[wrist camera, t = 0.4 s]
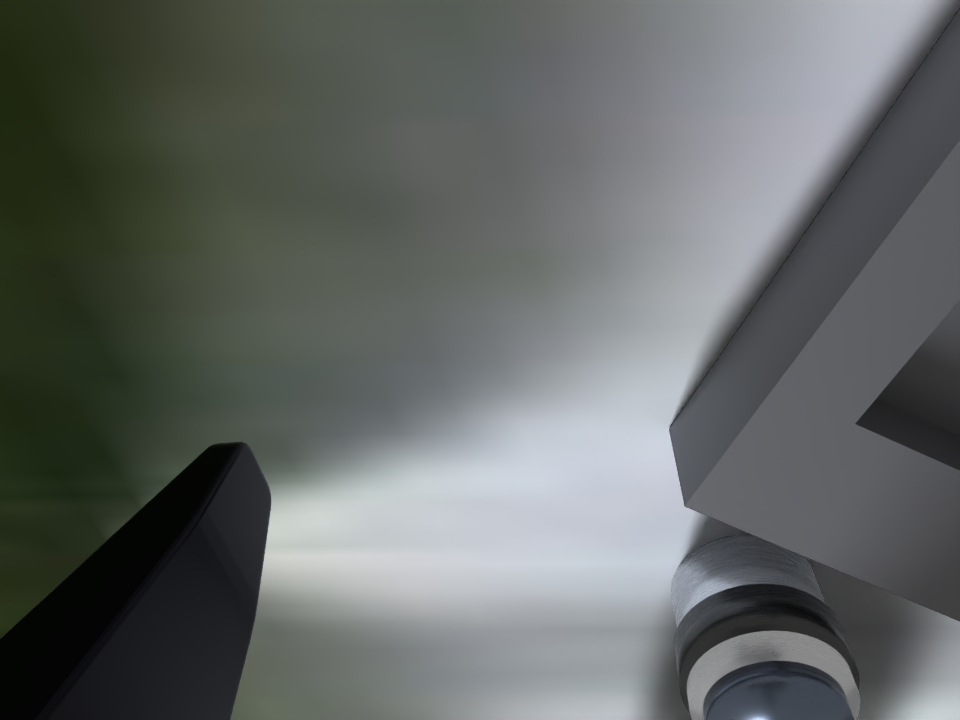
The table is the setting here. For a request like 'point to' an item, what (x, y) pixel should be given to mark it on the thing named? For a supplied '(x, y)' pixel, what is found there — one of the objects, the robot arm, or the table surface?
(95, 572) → the robot arm
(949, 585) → the camera body
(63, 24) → the table surface
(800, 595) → the lens
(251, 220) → the table surface
